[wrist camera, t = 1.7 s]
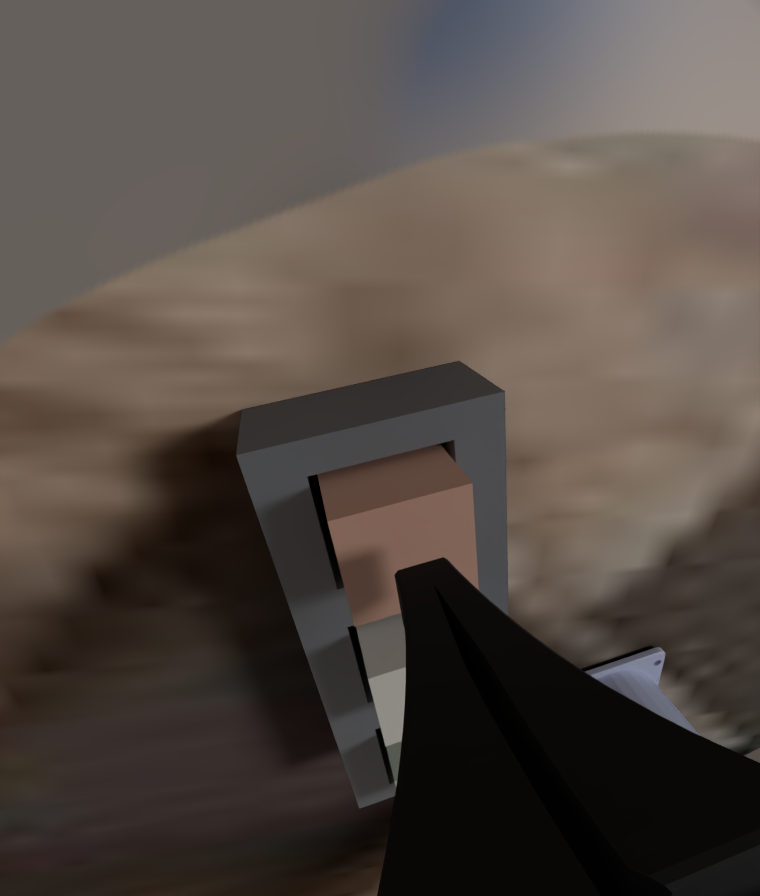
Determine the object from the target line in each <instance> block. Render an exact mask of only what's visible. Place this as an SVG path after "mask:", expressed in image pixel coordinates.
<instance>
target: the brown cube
mask: <svg viewBox="0 0 760 896" xmlns="http://www.w3.org/2000/svg"><path fill="white" fill-rule="evenodd" d="M317 476H318V480H319V485H320V490H321V494H322V499H323V503H324V508H325V513H326V517H327V522H328V526H329V530H330V533H331V537H332V541H333V545H334V549H335V553H336V557H337V561H338V564H339V568H340V572H341V576H342V580H343V584H344V588H345V592H346V595H347V599H348V603H349V607H350V611H351V615H352V619H353V623H354V626H355V627H357V626H360V625H363V624H367V623H370V622H373V621H377V620H380V619H383V618H386V617H390V616H393V615H396V614H400V613H401V609H400V604H399V598H398V593H397V587H396V582H395V576H394V575H395V573H396V572H397V571H398V570H401V569H404V568H408V567H411V566H414V565H418V564H421V563H425V562H428V561H432V560H435V559H439V558H442V557H444V558H446V559H448V560H449V561H450V562H451V564H452V565H453V566H454V567H455V568H456V569H457V570H458V571H459V572H460V573H461V574H462V575H463V576H464V577H465V578H466V579H467V580H468V581H469V582H470V583H471V584H473V585H474V586H475V587H476V588H477V589H478V590H479V585H478V568H477V551H476V535H475V518H474V501H473V484H472V482H471V481H470V480H469V478H468V477H467V476H466V475H465V473H464V472H463V471H462V470H461V469H460V467H459V466H458V465H457V464H456V463H455V461H454V460H453V459H452V458H451V456H450V455H449V454H448V453H447V452H446V450H445V449H444V448H443V447H442V445H441V444H436V445H432V446H428V447H424V448H420V449H416V450H412V451H408V452H404V453H400V454H396V455H392V456H388V457H384V458H380V459H376V460H372V461H368V462H364V463H360V464H356V465H352V466H348V467H344V468H340V469H336V470H332V471H328V472H324V473H320V474H317Z"/></svg>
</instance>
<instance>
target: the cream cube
mask: <svg viewBox="0 0 760 896" xmlns="http://www.w3.org/2000/svg"><path fill="white" fill-rule="evenodd" d="M356 629H357V633H358V638H359V642H360V646H361V651H362V655H363V659H364V664H365V668H366V672H367V677H368V681H369V685H370V689H371V692H372V696H373V700H374V704H375V708H376V712H377V716H378V720H379V723H380V727H381V731H382V735H383V739H384V743H385V747H386V746H389V745H392V744H394V743H397V742H400V741H402V733H403V721H404V706H405V685H406V642H405V628H404V625H403V620H402V615H401V613H400V614H396V615H393V616H390V617H386V618H383V619H380V620H377V621H373V622H370V623H367V624H363V625H360V626H357V627H356Z"/></svg>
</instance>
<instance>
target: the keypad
mask: <svg viewBox="0 0 760 896" xmlns="http://www.w3.org/2000/svg"><path fill="white" fill-rule="evenodd" d="M436 444H441V445H442V447H443V448H444V449H445V450H446V452H447V453H448V454H449V455H450V456H451V458H452V459H453V460H454V461H455V463H456V464H457V465H458V466H459V467H460V469H461V470H462V471H463V472H464V473H465V475H466V476H467V477H468V478H469V480H470V481H471V482H472V484H473V501H474V518H475V535H476V551H477V568H478V585H479V591H480V592H481V593H482V594H483V595H484V596H485V597H487V598H488V599H489V600H490V601H491V602H492V603H493V604H495V605H496V606H497V607H498V608H499V609H500V610H502V611H503V612H504V613H505V614H506V615H508V558H507V497H506V436H505V391H503V390H502V389H500V388H499V387H497V386H496V385H494V384H493V383H492V382H490V381H489V380H487V379H486V378H484V377H483V376H481V375H480V374H478V373H477V372H475V371H474V370H472V369H471V368H469V367H468V366H466V365H465V364H463V363H462V362H460V361H457V362H453V363H448V364H444V365H440V366H435V367H431V368H426V369H422V370H417V371H413V372H408V373H404V374H399V375H395V376H391V377H386V378H382V379H377V380H373V381H368V382H364V383H359V384H355V385H350V386H346V387H341V388H337V389H333V390H328V391H324V392H319V393H315V394H310V395H306V396H301V397H297V398H292V399H288V400H284V401H279V402H275V403H270V404H266V405H261V406H257V407H252V408H248V409H243V410H242V411H241V419H240V428H239V436H238V444H237V452H236V457H237V459H238V462H239V465H240V468H241V471H242V474H243V477H244V479H245V482H246V485H247V488H248V491H249V494H250V497H251V499H252V502H253V505H254V508H255V511H256V514H257V517H258V519H259V522H260V525H261V528H262V531H263V534H264V537H265V539H266V542H267V545H268V548H269V551H270V554H271V557H272V559H273V562H274V565H275V568H276V571H277V574H278V577H279V579H280V582H281V585H282V588H283V591H284V594H285V597H286V600H287V602H288V605H289V608H290V611H291V614H292V617H293V620H294V622H295V625H296V628H297V631H298V634H299V637H300V640H301V642H302V645H303V648H304V651H305V654H306V657H307V660H308V662H309V665H310V668H311V671H312V674H313V677H314V680H315V682H316V685H317V688H318V691H319V694H320V697H321V700H322V702H323V705H324V708H325V711H326V714H327V717H328V720H329V723H330V725H331V728H332V731H333V734H334V737H335V740H336V743H337V745H338V748H339V751H340V754H341V757H342V760H343V763H344V765H345V768H346V771H347V774H348V777H349V780H350V783H351V785H352V788H353V791H354V794H355V797H356V800H357V803H358V805H359V808H363V807H366V806H368V805H371V804H374V803H377V802H379V801H382V800H385V799H388V798H391V797H393V796H395V792H396V785H395V782H394V777H393V773H392V769H391V765H390V760H389V756H388V752H387V748H386V747H385V743H384V739H383V735H382V731H381V727H380V723H379V720H378V716H377V712H376V708H375V704H374V700H373V696H372V692H371V689H370V685H369V681H368V677H367V672H366V668H365V664H364V659H363V655H362V651H361V646H360V642H359V638H358V634H355V635H353V634H352V630H351V626H354V623H353V619H352V615H351V611H350V607H349V603H348V599H347V595H346V592H345V588H344V584H343V580H342V576H341V572H340V568H339V564H338V561H337V557H336V553H335V549H334V545H333V541H332V537H331V533H330V530H329V528H327V529H325V528H324V524H323V520H322V516H321V512H320V509H319V505H318V501H317V497H316V493H315V490H314V486H313V482H312V478H311V476H312V475H316V474H320V473H324V472H328V471H332V470H336V469H340V468H344V467H348V466H352V465H356V464H360V463H364V462H368V461H372V460H376V459H380V458H384V457H388V456H392V455H396V454H400V453H404V452H408V451H412V450H416V449H420V448H424V447H428V446H432V445H436Z"/></svg>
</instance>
